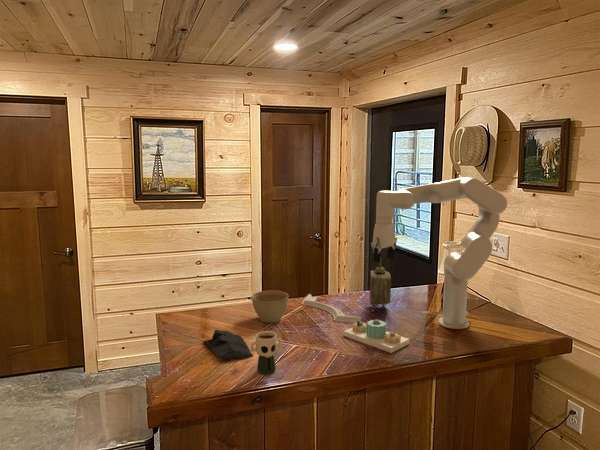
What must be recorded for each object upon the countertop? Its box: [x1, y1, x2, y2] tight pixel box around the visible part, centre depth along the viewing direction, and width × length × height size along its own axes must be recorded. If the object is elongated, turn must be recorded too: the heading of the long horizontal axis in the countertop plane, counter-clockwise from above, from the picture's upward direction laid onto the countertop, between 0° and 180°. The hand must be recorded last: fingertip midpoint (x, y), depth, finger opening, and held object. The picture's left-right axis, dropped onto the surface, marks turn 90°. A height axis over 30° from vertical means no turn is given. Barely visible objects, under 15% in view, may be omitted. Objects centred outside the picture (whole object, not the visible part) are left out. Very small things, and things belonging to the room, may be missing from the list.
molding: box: [300, 293, 362, 324], centre depth 222 cm, size 42×12×3 cm, turn 33°
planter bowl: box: [251, 290, 289, 324], centre depth 209 cm, size 16×16×11 cm
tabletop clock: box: [369, 261, 392, 313], centre depth 222 cm, size 14×9×25 cm, turn 172°
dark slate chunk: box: [203, 329, 254, 361], centre depth 179 cm, size 15×22×5 cm
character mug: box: [250, 330, 282, 375], centre depth 160 cm, size 11×7×13 cm, turn 113°
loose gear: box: [366, 319, 387, 339], centre depth 187 cm, size 8×8×5 cm
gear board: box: [343, 319, 410, 354], centre depth 187 cm, size 12×23×8 cm, turn 45°
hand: (383, 260), depth 200 cm, fingers open, 9 cm apart
